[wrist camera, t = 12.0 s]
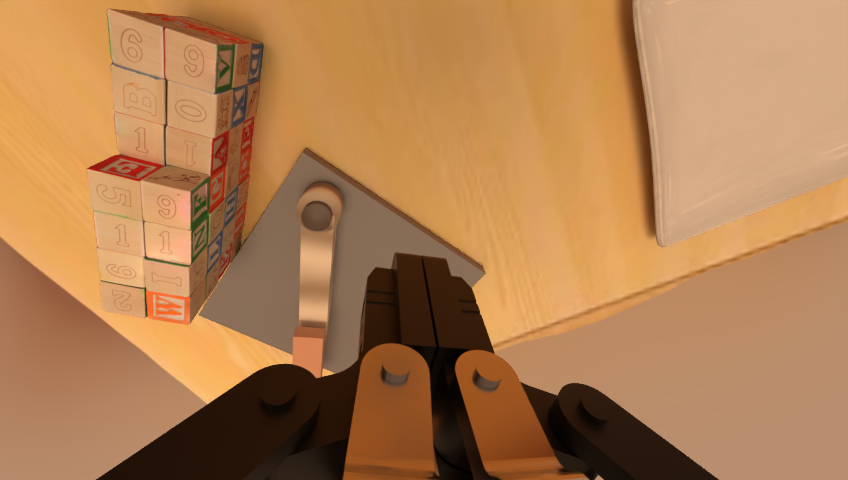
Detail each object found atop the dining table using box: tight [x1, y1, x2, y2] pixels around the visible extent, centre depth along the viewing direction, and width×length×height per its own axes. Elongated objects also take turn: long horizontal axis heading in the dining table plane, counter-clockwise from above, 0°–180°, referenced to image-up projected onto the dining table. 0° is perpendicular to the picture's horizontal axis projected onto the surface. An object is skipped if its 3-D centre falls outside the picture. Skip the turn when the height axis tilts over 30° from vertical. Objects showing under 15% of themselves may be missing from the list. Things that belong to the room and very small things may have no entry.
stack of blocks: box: [87, 9, 263, 325], centre depth 29 cm, size 21×6×12 cm, turn 161°
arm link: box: [296, 182, 344, 347], centre depth 37 cm, size 19×4×4 cm, turn 170°
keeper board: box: [199, 148, 486, 378], centre depth 40 cm, size 24×24×8 cm
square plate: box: [632, 0, 848, 247], centre depth 34 cm, size 27×27×4 cm
